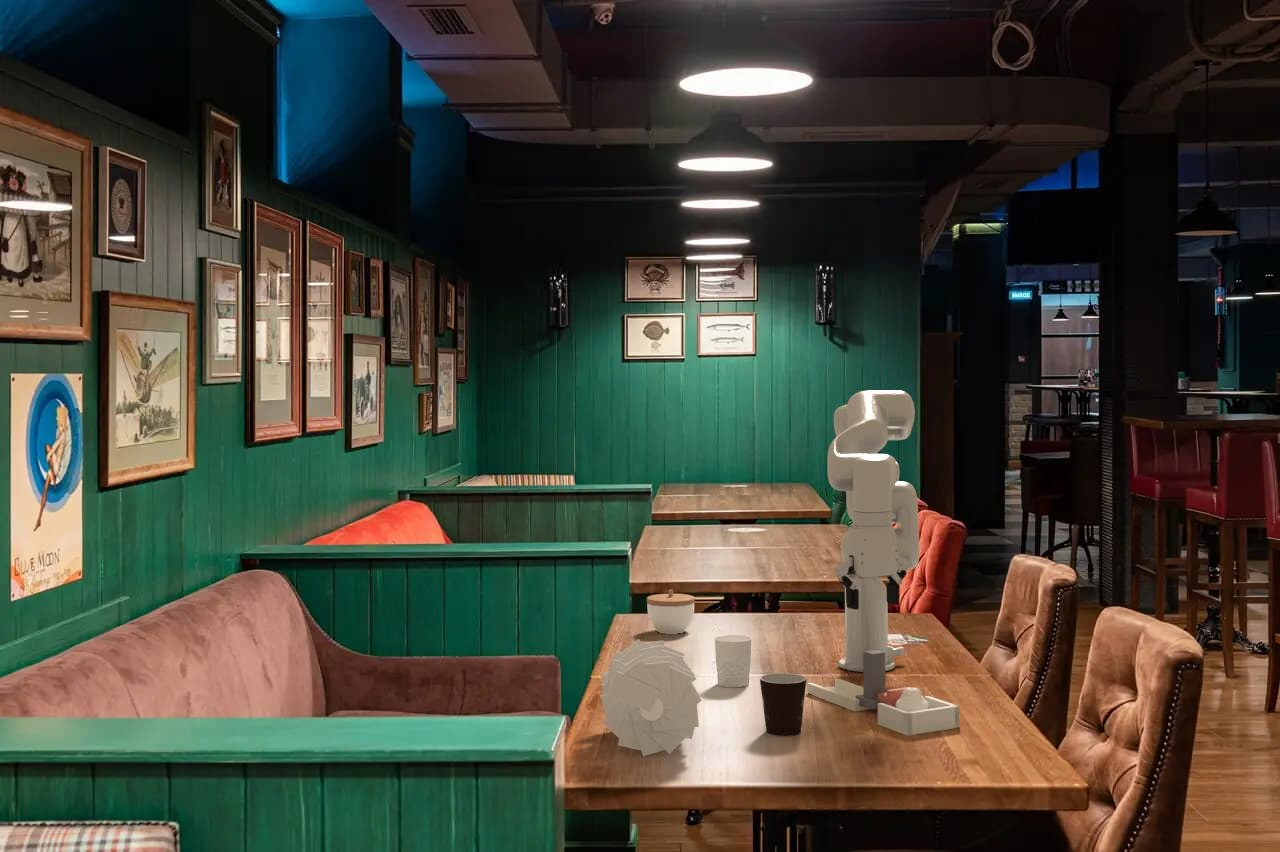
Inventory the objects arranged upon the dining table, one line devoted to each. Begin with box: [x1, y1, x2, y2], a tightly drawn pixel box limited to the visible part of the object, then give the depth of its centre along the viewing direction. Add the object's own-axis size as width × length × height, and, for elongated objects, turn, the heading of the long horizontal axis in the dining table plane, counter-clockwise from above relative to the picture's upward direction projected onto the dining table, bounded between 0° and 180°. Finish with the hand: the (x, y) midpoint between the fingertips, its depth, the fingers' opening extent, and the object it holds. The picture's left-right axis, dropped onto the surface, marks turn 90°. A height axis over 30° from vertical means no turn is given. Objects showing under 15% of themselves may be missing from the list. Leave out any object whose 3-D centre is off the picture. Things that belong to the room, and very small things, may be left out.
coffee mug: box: [759, 672, 808, 737], centre depth 240 cm, size 12×9×10 cm
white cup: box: [714, 634, 752, 688], centre depth 278 cm, size 8×8×10 cm
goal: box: [877, 695, 960, 736], centre depth 242 cm, size 12×9×4 cm
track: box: [806, 678, 873, 713], centre depth 263 cm, size 8×17×2 cm, turn 26°
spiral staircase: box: [599, 638, 702, 757], centre depth 233 cm, size 18×18×25 cm
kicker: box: [855, 650, 910, 710], centre depth 252 cm, size 5×12×10 cm, turn 26°
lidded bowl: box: [646, 589, 696, 635], centre depth 339 cm, size 13×13×11 cm
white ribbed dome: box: [896, 686, 929, 712], centre depth 244 cm, size 6×6×7 cm
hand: (872, 606), depth 255 cm, fingers open, 9 cm apart
